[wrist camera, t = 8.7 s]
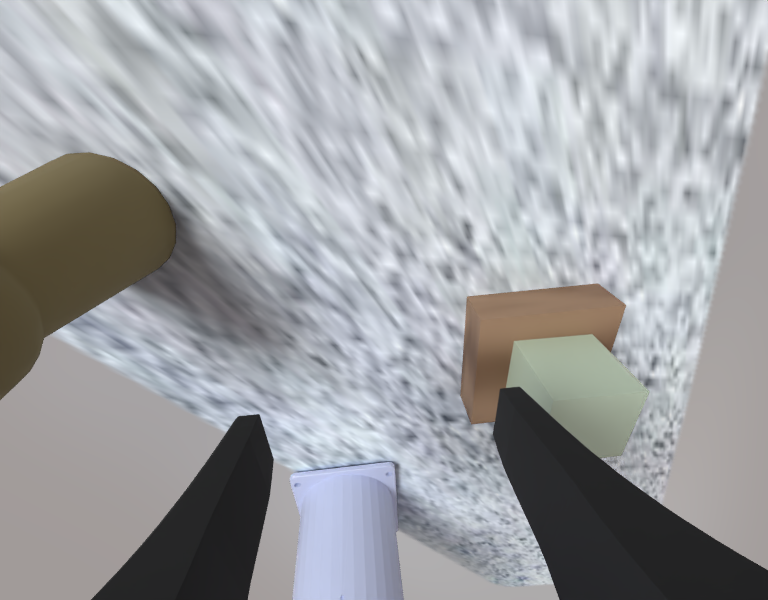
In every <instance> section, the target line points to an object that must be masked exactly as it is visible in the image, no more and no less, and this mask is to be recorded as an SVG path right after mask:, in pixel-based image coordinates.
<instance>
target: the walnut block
mask: <svg viewBox="0 0 768 600" xmlns="http://www.w3.org/2000/svg"><path fill="white" fill-rule="evenodd" d="M625 307H626V305H625V304H624V303H623V302H621V301H620V300H619V299H617V298H616V297H615V296H613V295H612V294H611V293H610V292H608V291H607V290H606V289H604V288H603V287H602V286H600V285H599V284H589V285H579V286H569V287H559V288H549V289H539V290H529V291H518V292H508V293H498V294H488V295H478V296H468V297H467V305H466V320H465V335H464V350H463V365H462V380H461V395H460V396H461V398H462V401H463V404H464V406H465V409H466V411H467V414H468V417H469V419H470V422H471V424H478V423H487V422H495V418H496V411H497V405H498V398H499V392H500V389H501V388H506V384H507V378H508V373H509V367H510V361H511V355H512V350H513V344H514V341H520V340H531V339H543V338H554V337H566V336H577V335H589V334H593V335H594V336H595V337H596V338H597V339H598V340H599V341H600V342H601V343H602V344H603V345H604V346H605V347H606V348H607V349H608V350H609V351H610V352H611V350H612V347H613V344H614V341H615V338H616V335H617V332H618V329H619V326H620V323H621V320H622V316H623V313H624V310H625Z"/></svg>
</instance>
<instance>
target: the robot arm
mask: <svg viewBox="0 0 768 600" xmlns="http://www.w3.org/2000/svg"><path fill="white" fill-rule="evenodd" d="M493 436H494V439H495V442H496V445H497V449H498V452H499V455H500V458H501V461H502V464H503V467H504V469H505V471H506V474H507V476H508V478H509V480H510V483H511V485H512V487H513V489H514V491H515V494H516V496H517V498H518V500H519V502H520V505H521V507H522V509H523V511H524V513H525V516H526V518H527V520H528V522H529V524H530V526H531V529H532V531H533V533H534V535H535V537H536V540H537V542H538V544H539V546H540V549H541V551H542V553H543V556H544V558H545V561H546V563H547V566H548V569H549V572H550V574H551V577H552V580H553V583H554V585H555V588H556V591H557V593H558V597H559V599H560V600H768V570H766V569H765V568H763V567H761V566H759V565H758V564H756V563H754V562H753V561H751V560H749V559H747V558H746V557H744V556H742V555H740V554H739V553H737V552H735V551H733V550H732V549H730V548H729V547H727V546H725V545H724V544H722V543H720V542H719V541H717V540H715V539H714V538H712V537H711V536H709V535H708V534H706V533H704V532H703V531H701V530H699V529H698V528H696V527H695V526H693V525H692V524H690V523H689V522H687V521H685V520H684V519H682V518H681V517H679V516H678V515H676V514H675V513H673V512H672V511H670V510H669V509H667V508H666V507H664V506H663V505H661V504H660V503H659V502H657V501H656V500H654V499H653V498H652V497H650V496H649V495H647V494H646V493H645V492H643V491H642V490H640V489H639V488H638V487H636V486H635V485H633V484H632V483H631V482H629V481H628V480H627V479H625V478H624V477H623V476H621V475H620V474H619V473H617V472H616V471H615V470H614V469H612V468H611V467H610V466H609V465H607V464H606V463H605V462H604V461H602V460H601V459H600V458H599V457H598V456H596V455H595V454H594V453H593V452H592V451H590V450H589V449H588V448H587V447H586V446H584V445H583V444H582V443H581V442H580V441H579V440H578V439H576V438H575V437H574V436H573V435H572V434H571V433H570V432H568V431H567V430H566V429H565V428H564V427H563V426H562V425H561V424H560V423H558V422H557V421H556V420H555V419H554V418H553V417H552V416H551V415H550V414H549V413H548V412H546V411H545V410H544V409H543V408H542V407H541V406H540V405H539V404H538V403H537V402H536V401H535V400H534V399H533V398H532V397H530V396H529V395H528V394H527V393H526V392H525V391H524V390H523V389H522V388H521V387H510V388H501V389H500V392H499V398H498V405H497V411H496V418H495V425H494V431H493ZM273 460H274V459H273V456H272V453H271V449H270V446H269V443H268V440H267V437H266V434H265V430H264V427H263V424H262V421H261V418H260V415H259V414H257V415H247V416H238V417H237V418H236V419H235V421H234V422H233V424H232V425H231V427H230V428H229V430H228V431H227V433H226V434H225V436H224V437H223V439H222V440H221V442H220V443H219V445H218V446H217V447H216V449H215V450H214V452H213V453H212V455H211V456H210V458H209V459H208V460H207V462H206V463H205V465H204V466H203V467H202V469H201V470H200V472H199V473H198V474H197V476H196V477H195V478H194V480H193V481H192V482H191V484H190V485H189V487H188V488H187V489H186V491H185V492H184V493H183V495H182V496H181V497H180V499H179V500H178V501H177V502H176V503H175V505H174V506H173V507H172V508H171V510H170V511H169V512H168V514H167V515H166V516H165V517H164V519H163V520H162V521H161V522H160V524H159V525H158V526H157V527H156V529H155V530H154V531H153V532H152V533H151V534H150V536H149V537H148V538H147V539H146V540H145V542H144V543H143V544H142V545H141V546H140V547H139V549H138V550H137V551H136V552H135V553H134V554H133V555H132V556H131V557H130V559H129V560H128V561H127V562H126V563H125V564H124V565H123V566H122V568H121V569H120V570H119V571H118V572H117V573H116V574H115V575H114V576H113V577H112V578H111V579H110V580H109V581H108V582H107V584H106V585H105V586H104V587H103V588H102V589H101V590H100V591H99V592H98V593H97V594H96V595H95V596H94V597H93V598H92V599H91V600H248V594H249V588H250V583H251V579H252V574H253V570H254V564H255V561H256V556H257V552H258V547H259V543H260V538H261V533H262V529H263V524H264V520H265V515H266V511H267V506H268V501H269V497H270V489H271V480H272V470H273ZM290 484H291V487H292V490H293V493H294V497H295V500H296V504H297V507H298V511H299V514H300V517H301V518H300V529H299V539H298V548H297V558H296V568H295V578H294V588H293V598H292V600H404V598H403V589H402V581H401V573H400V563H399V555H398V546H397V538H396V532H397V531H398V514H397V495H396V476H395V465H394V464H393V463H392V462H384V463H375V464H367V465H358V466H349V467H341V468H332V469H323V470H315V471H306V472H298V473H293V474H292V475H291V476H290Z"/></svg>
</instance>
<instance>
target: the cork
mask: <svg viewBox="0 0 768 600" xmlns="http://www.w3.org/2000/svg"><path fill="white" fill-rule="evenodd" d="M175 243H176V224H175V221H174V218H173V216H172V213H171V210H170V207H169V205H168V203H167V202H166V201H165V199H164V198H163V196H162V195H161V193H160V192H159V191H158V189H157V188H156V186H154V185H153V184H152V183H151V182H150V181H149V180H148V179H146V178H145V177H144V176H143V175H142V174H141V173H139V172H138V171H137V170H136V169H134V168H132V167H130V166H128V165H126V164H124V163H122V162H120V161H118V160H116V159H114V158H111V157H107V156H102V155H98V154H94V153H90V152H88V153H73V154H65V155H63V156H61V157H59V158H57V159H55V160H53V161H51V162H48V163H46V164H44V165H42V166H41V167H39V168H37V169H35V170H33V171H31V172H29V173H27V174H25V175H23V176H21V177H19V178H17V179H15V180H13V181H11V182H9V183H7V184H5V185H3V186H1V187H0V400H1V399H2V398H3V397H4V396H5V395H6V394H7V393H8V392H9V391H10V390H11V389H12V388H14V387H15V386H16V385H17V384H18V383H19V382H20V381H21V380H22V379H23V378H24V377H25V376H26V375H27V374H28V373H29V372H30V370H31V369H32V367H33V365H34V364H35V362H36V360H37V359H38V357H39V355H40V351H41V347H42V344H43V340H44V338H45V337H46V336H48V335H50V334H52V333H53V332H55V331H56V330H58V329H60V328H61V327H63V326H65V325H66V324H68V323H70V322H71V321H73V320H75V319H76V318H78V317H80V316H81V315H83V314H84V313H86V312H88V311H89V310H91V309H93V308H94V307H96V306H98V305H99V304H101V303H103V302H104V301H106V300H108V299H109V298H111V297H112V296H114V295H116V294H117V293H119V292H121V291H122V290H124V289H126V288H127V287H129V286H131V285H132V284H134V283H136V282H137V281H139V280H140V279H142V278H144V277H145V276H147V275H149V274H150V273H152V272H154V271H155V270H157V269H158V268H159V267H160V266H162V265H163V264H164V263H165V262H166V261H167V260H168V259H169V258H170V256H171V253H172V251H173V248H174V246H175Z"/></svg>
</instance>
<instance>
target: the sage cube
mask: <svg viewBox="0 0 768 600" xmlns="http://www.w3.org/2000/svg"><path fill="white" fill-rule="evenodd" d="M510 387H521V388H522V389H523V390H524V391H525V392H526V393H527V394H528V395H529V396H530V397H532V398H533V399H534V400H535V401H536V402H537V403H538V404H539V405H540V406H541V407H542V408H543V409H544V410H545V411H546V412H548V413H549V414H550V415H551V416H552V417H553V418H554V419H555V420H556V421H557V422H558V423H560V424H561V425H562V426H563V427H564V428H565V429H566V430H567V431H568V432H570V433H571V434H572V435H573V436H574V437H575V438H576V439H578V440H579V441H580V442H581V443H582V444H583V445H584V446H586V447H587V448H588V449H589V450H590V451H592V452H593V453H594V454H595V455H596V456H598V457H599V458H605V457H614V456H621V455H622V453H623V451H624V448H625V446H626V444H627V441H628V439H629V437H630V435H631V432H632V430H633V428H634V426H635V423H636V421H637V419H638V417H639V414H640V412H641V410H642V408H643V405H644V403H645V401H646V399H647V396H648V394H649V391H648V390H647V389H646V388H645V387H644V386H643V385H642V384H641V383H640V381H639V380H638V379H637V378H636V377H635V376H634V375H633V374H632V373H631V372H630V371H629V370H628V369H627V368H626V367H625V366H624V365H623V364H622V363H621V362H620V361H619V360H618V359H617V358H616V357H615V356H614V355H613V354H612V353H611V352H610V351H609V350H608V349H607V348H606V347H605V346H604V345H603V344H602V343H601V342H600V341H599V340H598V339H597V338H596V337H595V336H594V335H593V334H589V335H577V336H566V337H554V338H543V339H531V340H520V341H514V344H513V350H512V355H511V361H510V367H509V373H508V378H507V384H506V388H510Z"/></svg>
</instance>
